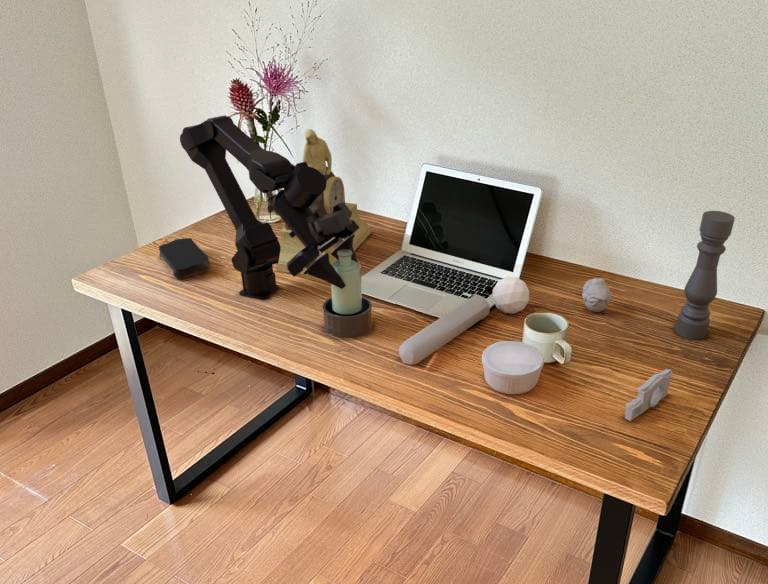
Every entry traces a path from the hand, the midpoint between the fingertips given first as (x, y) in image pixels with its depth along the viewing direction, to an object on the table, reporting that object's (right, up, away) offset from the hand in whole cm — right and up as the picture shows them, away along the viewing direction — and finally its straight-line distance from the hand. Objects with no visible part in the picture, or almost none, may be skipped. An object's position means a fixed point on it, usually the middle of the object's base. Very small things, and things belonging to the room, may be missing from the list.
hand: (352, 280), depth 143 cm
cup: (-1, -9, +6) cm, 11 cm away
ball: (+32, -5, +13) cm, 35 cm away
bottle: (-1, -5, +4) cm, 6 cm away
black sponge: (-42, +6, +29) cm, 52 cm away
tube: (+18, -12, +2) cm, 22 cm away
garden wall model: (+53, -24, -16) cm, 60 cm away
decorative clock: (-10, +11, +38) cm, 41 cm away
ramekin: (+30, -19, -9) cm, 37 cm away
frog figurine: (+51, -5, +14) cm, 53 cm away
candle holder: (+69, -10, +7) cm, 70 cm away
